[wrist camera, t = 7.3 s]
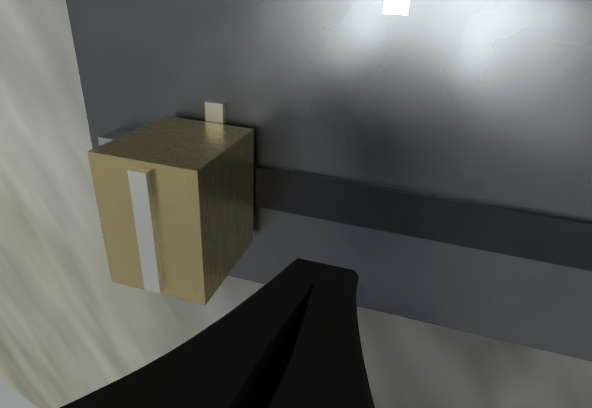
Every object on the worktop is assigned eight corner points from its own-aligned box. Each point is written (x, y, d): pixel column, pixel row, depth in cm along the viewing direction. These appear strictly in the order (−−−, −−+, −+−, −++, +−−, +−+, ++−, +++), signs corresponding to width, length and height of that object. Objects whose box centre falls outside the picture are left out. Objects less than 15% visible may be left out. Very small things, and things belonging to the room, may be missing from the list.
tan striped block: (253, 240, 15) (201, 310, 11) (175, 224, 15) (107, 285, 12) (253, 128, 13) (192, 173, 9) (165, 115, 13) (81, 154, 10)
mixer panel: (659, 346, 14) (700, 411, 12) (133, 229, 18) (93, 260, 16) (1136, -415, 6) (1490, -622, 4) (56, -292, 11) (-35, -361, 9)
